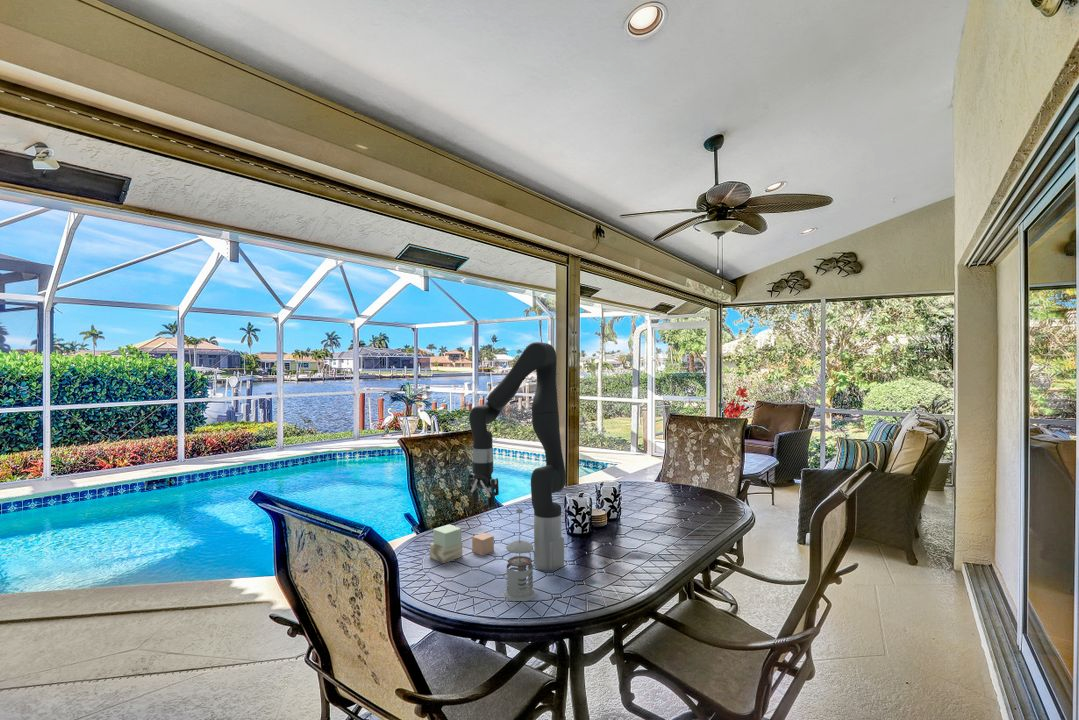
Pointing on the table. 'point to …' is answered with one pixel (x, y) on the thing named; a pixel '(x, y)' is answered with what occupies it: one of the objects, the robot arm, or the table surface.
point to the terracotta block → (483, 544)
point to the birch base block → (445, 552)
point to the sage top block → (447, 536)
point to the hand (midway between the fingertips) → (482, 504)
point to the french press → (520, 571)
